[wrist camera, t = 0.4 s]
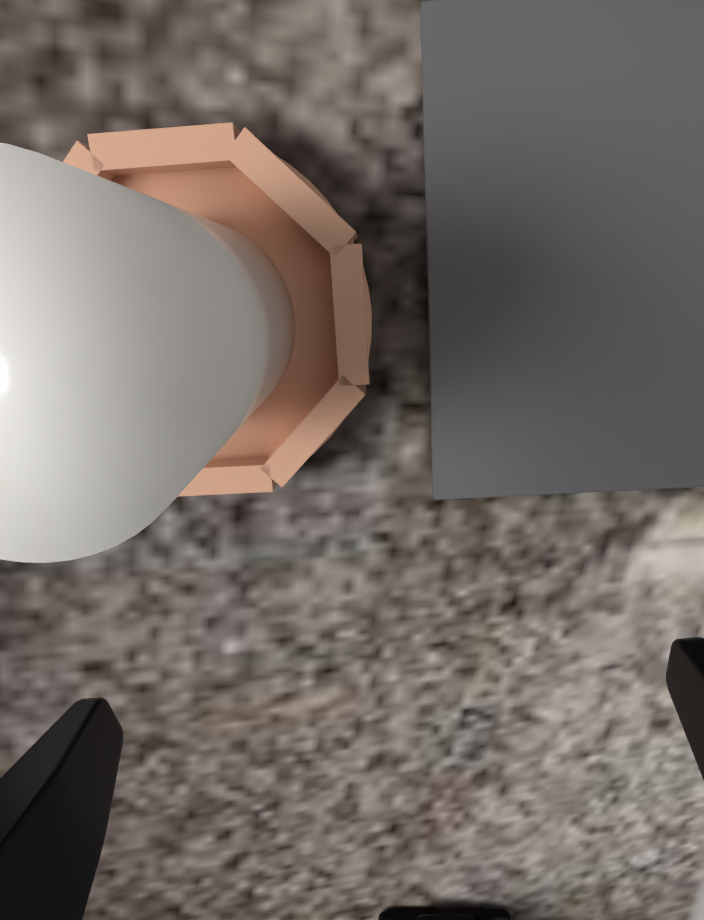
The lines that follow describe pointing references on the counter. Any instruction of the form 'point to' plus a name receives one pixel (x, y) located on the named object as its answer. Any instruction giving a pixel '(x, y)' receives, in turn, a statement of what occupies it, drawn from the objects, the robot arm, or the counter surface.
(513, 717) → the counter surface
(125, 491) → the white smooth rounded cylinder
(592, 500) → the counter surface
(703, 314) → the dark grey flat plate
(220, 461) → the dish
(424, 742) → the counter surface
